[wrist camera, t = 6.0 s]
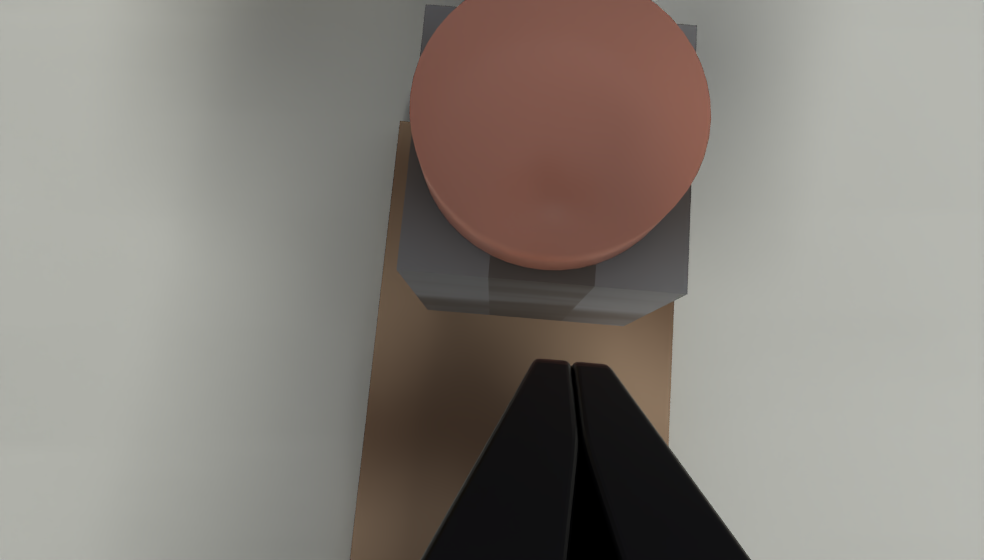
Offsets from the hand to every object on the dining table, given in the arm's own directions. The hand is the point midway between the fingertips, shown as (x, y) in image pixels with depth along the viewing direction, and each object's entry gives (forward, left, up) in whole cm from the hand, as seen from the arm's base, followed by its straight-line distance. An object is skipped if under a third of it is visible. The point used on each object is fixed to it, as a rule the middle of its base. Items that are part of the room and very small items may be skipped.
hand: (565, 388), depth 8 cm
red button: (+4, -3, -9) cm, 11 cm away
